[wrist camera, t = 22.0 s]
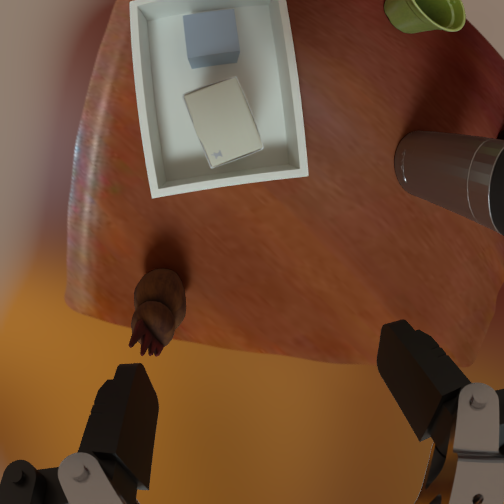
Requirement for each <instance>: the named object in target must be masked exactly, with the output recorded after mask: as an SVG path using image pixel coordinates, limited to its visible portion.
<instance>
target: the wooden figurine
mask: <svg viewBox="0 0 504 504" xmlns="http://www.w3.org/2000/svg"><path fill="white" fill-rule="evenodd" d="M134 306H135V312H134V314H133V317H132V323H131V328H132V336H131V339H130V343H129V347H130V348H131V347H133V346H134V344H135V343H137V341H138V342H139V343H140V344H141V356H143V355H144V354H145V352H146V350H147V349H148V351H149V356H151V355H153V353H154V354H155V356H159V355H160V353H161V351H162V349H163V347H165V346H166V345H168V343H169V342H170V341H171V340H172V338H173V335H174V331H175V329H176V328H177V327H178V326H179V325H180V324H181V322H182V321H183V319H184V317H185V314H186V297H185V291H184V287H183V284H182V281H181V279H180V278H179V276H178V274H177V273H175V272H174V271H172V270H170V269H164V268H162V269H155V270H153V271H151V272H149V273H147V274H145V275H144V276H143V277H142V279H141V280H140V282H139V283H138V284H137V286H136V288H135V292H134Z"/></svg>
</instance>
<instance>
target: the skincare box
mask: <svg viewBox="0 0 504 504" xmlns="http://www.w3.org/2000/svg"><path fill="white" fill-rule="evenodd" d="M182 98H183V100H184V103H185V106H186V108H187V111H188V113H189V116H190V119H191V121H192V124H193V126H194V129H195V131H196V134H197V136H198V139H199V141H200V144H201V146H202V149H203V151H204V154H205V156H206V158H207V161H208V163H209V166H210V168H211V169H212V168H215V167H218V166H221V165H224V164H227V163H229V162H232V161H235V160H238V159H240V158H243V157H246V156H248V155H251V154H253V153H256V152H258V151H261V150H263V149H264V145H263V142H262V139H261V136H260V133H259V129H258V127H257V124H256V121H255V119H254V116H253V113H252V111H251V108H250V106H249V103H248V101H247V99H246V96H245V94H244V92H243V89H242V87H241V85H240V83H239V81H238V78H237V77H236V76H233V77H230V78H227V79H223V80H220V81H216V82H214V83H210V84H208V85H205V86H202V87H199V88H196V89H194V90H191V91H188V92H186V93H184V94H183V96H182Z"/></svg>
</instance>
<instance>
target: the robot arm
mask: <svg viewBox="0 0 504 504" xmlns="http://www.w3.org/2000/svg"><path fill="white" fill-rule="evenodd" d="M394 165H395V172H396V176H397V179H398V181H399V183H400V185H401V186H402V187H403V188H404V190H406V191H407V192H408V193H410V194H412V195H414V196H417V197H419V198H422V199H424V200H427V201H429V202H431V203H434V204H436V205H438V206H441V207H443V208H446V209H448V210H450V211H452V212H455V213H457V214H459V215H461V216H464V217H466V218H468V219H470V220H472V221H475V222H477V223H479V224H481V225H483V226H485V227H487V228H490V229H492V230H494V231H496V232H498V233H500V234H502V235H503V236H504V140H500V139H493V138H486V137H479V136H471V135H462V134H453V133H443V132H432V131H414V132H411V133H409V134H407V135H406V136H405V137H404V138H403V139H402V140H401V142H400V143H399V145H398V148H397V150H396V154H395V164H394ZM377 366H378V370H379V373H380V375H381V377H382V378H383V380H384V382H385V383H386V385H387V387H388V388H389V390H390V391H391V393H392V395H393V396H394V398H395V400H396V402H397V403H398V405H399V407H400V408H401V410H402V412H403V414H404V415H405V417H406V419H407V420H408V422H409V424H410V426H411V427H412V429H413V431H414V433H415V434H416V436H417V438H418V440H419V441H420V442H421V441H423V440H425V439H427V438H429V437H431V438H432V439H433V441H434V443H433V445H432V448H431V453H430V457H429V461H428V465H427V469H426V473H425V477H424V480H423V484H422V488H421V491H420V493H419V496H418V498H417V500H416V501H415V503H414V504H503V501H504V389H501V390H496V391H494V390H493V389H492V388H491V387H490V386H488V385H486V384H483V383H471V382H470V381H469V380H468V378H467V377H466V376H465V375H464V374H463V372H462V371H461V370H460V369H459V368H458V366H457V365H456V364H455V363H454V362H453V361H452V360H451V358H450V357H449V356H448V355H446V353H445V352H444V350H443V349H442V348H440V347H439V345H438V344H437V342H436V341H435V340H434V339H433V338H432V337H431V336H429V335H428V334H426V333H424V332H422V331H420V330H416V331H415V330H414V329H413V328H412V327H411V326H410V324H409V323H408V322H407V321H406V320H404V319H403V320H399V321H395V322H391V323H388V324H384V325H383V326H382V329H381V336H380V342H379V348H378V354H377ZM158 411H159V404H158V398H157V395H156V392H155V390H154V388H153V386H152V384H151V382H150V379H149V377H148V375H147V373H146V371H145V368H144V366H143V365H142V364H141V363H134V364H120V365H119V366H118V367H117V370H116V373H115V376H114V379H113V380H107V381H106V382H105V383H104V384H103V385H102V387H101V388H100V389H99V390H98V393H97V396H96V398H95V401H94V405H93V407H92V410H91V415H90V416H89V419H88V422H87V425H86V428H85V431H84V434H83V437H82V441H81V444H80V447H79V450H78V452H77V453H74V454H71V455H69V456H68V457H66V458H65V459H64V460H63V461H62V462H61V464H60V466H59V467H57V468H48V469H40V470H37V469H36V468H35V467H33V466H32V465H31V464H30V463H29V462H27V461H25V460H17V461H14V462H12V463H10V465H8V466H7V468H6V469H5V471H4V474H3V477H2V480H1V484H0V504H140V503H139V502H138V500H137V499H136V494H137V489H139V490H149V483H150V474H151V465H152V456H153V448H154V440H155V432H156V425H157V418H158Z"/></svg>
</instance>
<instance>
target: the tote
mask: <svg viewBox="0 0 504 504" xmlns="http://www.w3.org/2000/svg"><path fill="white" fill-rule="evenodd" d="M227 9H234V13H235V19H236V26H237V33H238V40H239V47H240V53H239V57H238V61H237V63H230V64H222V65H215V66H208V67H201V68H195V69H192V68H191V65H190V63H189V61H188V58H187V49H186V41H185V32H184V23H183V16H184V15H190V14H196V13H203V12H210V11H218V10H227ZM130 25H131V42H132V56H133V68H134V79H135V88H136V97H137V106H138V114H139V121H140V129H141V136H142V142H143V149H144V155H145V161H146V167H147V173H148V179H149V185H150V190H151V195H152V198H157V197H163V196H168V195H174V194H180V193H186V192H192V191H198V190H204V189H211V188H217V187H224V186H231V185H238V184H246V183H253V182H261V181H269V180H277V179H286V178H295V177H305V176H308V164H307V153H306V142H305V132H304V123H303V113H302V105H301V96H300V88H299V81H298V73H297V66H296V59H295V52H294V45H293V39H292V32H291V26H290V20H289V15H288V9H287V3H286V0H135V1H132V2H130ZM233 76H236V77H237V78H238V81H239V83H240V85H241V87H242V89H243V92H244V94H245V96H246V99H247V101H248V103H249V106H250V108H251V111H252V113H253V116H254V119H255V121H256V124H257V127H258V129H259V133H260V136H261V139H262V142H263V145H264V149H263V150H261V151H258V152H256V153H253V154H251V155H248V156H246V157H243V158H240V159H238V160H235V161H232V162H229V163H227V164H224V165H221V166H218V167H215V168H212V169H211V168H210V166H209V163H208V161H207V158H206V156H205V154H204V151H203V149H202V146H201V144H200V141H199V139H198V136H197V134H196V131H195V129H194V126H193V124H192V121H191V119H190V116H189V113H188V111H187V108H186V106H185V103H184V100H183V98H182V96H183V94H184V93H186V92H188V91H191V90H194V89H196V88H199V87H202V86H205V85H208V84H210V83H214V82H216V81H220V80H223V79H227V78H230V77H233Z"/></svg>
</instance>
